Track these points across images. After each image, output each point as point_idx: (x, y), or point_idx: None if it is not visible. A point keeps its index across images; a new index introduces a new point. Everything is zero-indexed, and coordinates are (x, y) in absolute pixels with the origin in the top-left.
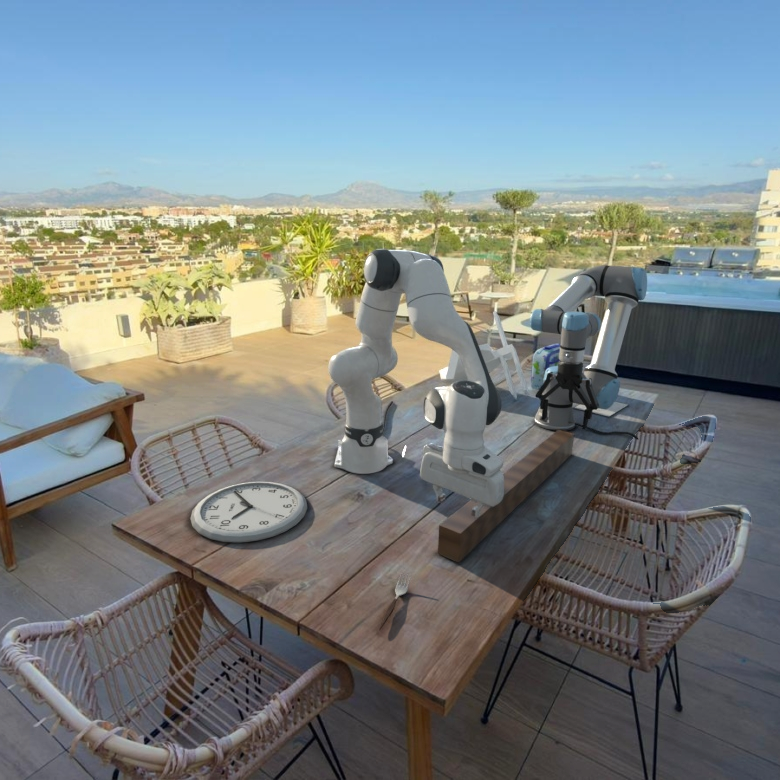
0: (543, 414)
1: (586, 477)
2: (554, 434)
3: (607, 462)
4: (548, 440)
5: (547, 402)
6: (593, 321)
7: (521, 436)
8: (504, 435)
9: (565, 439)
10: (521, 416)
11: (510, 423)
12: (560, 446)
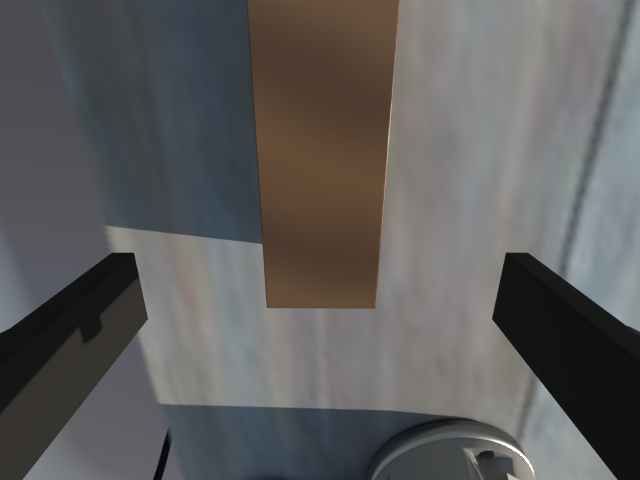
0: (545, 279)
1: (100, 10)
2: (370, 215)
3: None
4: (370, 59)
5: (613, 442)
6: None
7: None
8: (632, 262)
9: (271, 173)
10: (584, 474)
11: None
12: (247, 2)
